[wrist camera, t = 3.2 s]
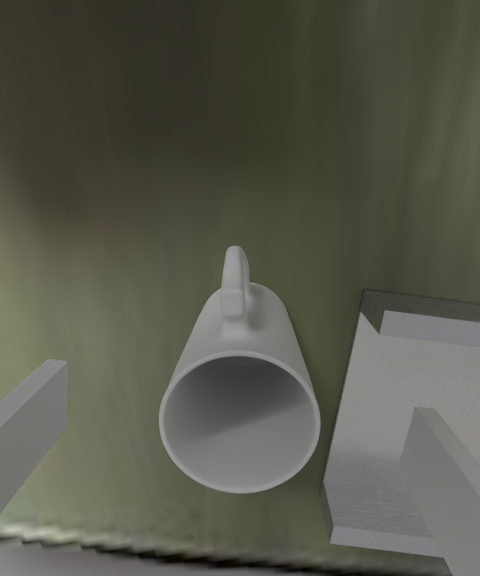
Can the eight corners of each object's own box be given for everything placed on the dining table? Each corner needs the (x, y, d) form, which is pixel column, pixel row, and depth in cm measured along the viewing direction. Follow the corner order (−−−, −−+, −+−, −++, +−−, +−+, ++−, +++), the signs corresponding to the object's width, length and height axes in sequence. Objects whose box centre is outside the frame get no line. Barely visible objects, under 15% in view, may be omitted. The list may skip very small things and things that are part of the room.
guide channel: (319, 493, 32) (329, 543, 27) (363, 288, 27) (384, 310, 23) (543, 521, 32) (588, 575, 28) (625, 322, 27) (695, 350, 23)
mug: (293, 366, 29) (321, 492, 17) (200, 369, 29) (167, 495, 18) (290, 226, 26) (320, 265, 15) (188, 231, 27) (139, 274, 15)
